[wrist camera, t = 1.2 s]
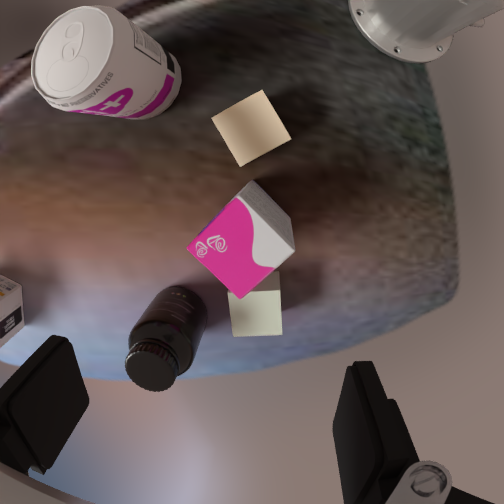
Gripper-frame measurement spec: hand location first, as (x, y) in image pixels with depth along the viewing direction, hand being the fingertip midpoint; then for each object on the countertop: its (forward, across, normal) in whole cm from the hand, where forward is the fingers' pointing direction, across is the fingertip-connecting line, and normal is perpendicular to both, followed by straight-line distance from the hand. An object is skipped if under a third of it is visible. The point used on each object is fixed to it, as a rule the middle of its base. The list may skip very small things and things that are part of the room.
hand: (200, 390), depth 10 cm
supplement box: (+26, 0, 0) cm, 26 cm away
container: (+26, +38, +13) cm, 47 cm away
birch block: (+25, 0, -9) cm, 27 cm away
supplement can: (+26, +11, -15) cm, 31 cm away
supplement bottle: (+26, +8, +11) cm, 29 cm away
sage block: (+26, -1, +8) cm, 27 cm away
